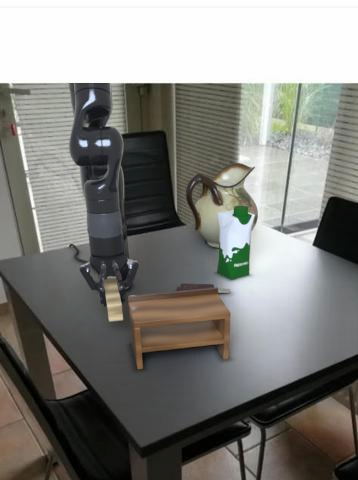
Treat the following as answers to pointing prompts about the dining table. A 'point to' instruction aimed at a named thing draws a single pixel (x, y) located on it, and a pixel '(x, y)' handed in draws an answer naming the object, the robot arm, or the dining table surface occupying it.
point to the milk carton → (235, 242)
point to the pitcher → (219, 199)
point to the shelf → (178, 321)
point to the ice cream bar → (200, 287)
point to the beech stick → (113, 300)
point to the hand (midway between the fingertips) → (113, 303)
